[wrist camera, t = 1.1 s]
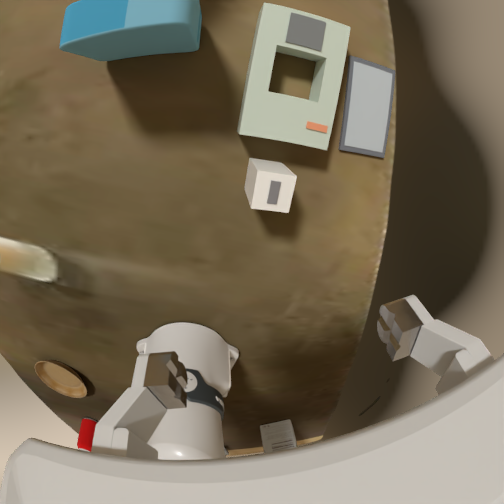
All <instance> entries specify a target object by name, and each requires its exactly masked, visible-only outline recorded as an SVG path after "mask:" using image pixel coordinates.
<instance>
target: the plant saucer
mask: <svg viewBox="0 0 504 504" xmlns="http://www.w3.org/2000/svg"><path fill="white" fill-rule="evenodd" d="M35 371H36V373H37V375H38V376H39V378H40V379H41V380H42V381H43V382H44V383H45V384H47V385H48V386H49V387H51V388H52V389H54V390H55V391H57V392H59V393H61V394H64V395H66V396H70V397H75V398H81V397H84V396H86V394H87V389H86V386H85V384H84V382H83V380H82V379H81V377H80V376H79V375H78V374H77V373H76V372H75V371H74V370H73V369H71V368H70V367H69V366H67V365H65V364H63V363H61V362H59V361H55V360H43V361H39V362H37V363H36V364H35Z"/></svg>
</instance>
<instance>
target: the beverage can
mask: <svg viewBox="0 0 504 504" xmlns="http://www.w3.org/2000/svg"><path fill="white" fill-rule="evenodd" d="M97 423H98V422H97V421H96V420H94V419H92V418H84V419H82V423H81V428H80V432H79V437H78V443H77V446H78V449H79V450H82V451H88V452H91V449H92V443H93V438H94V432H95V427H96V424H97Z"/></svg>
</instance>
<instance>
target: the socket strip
mask: <svg viewBox="0 0 504 504" xmlns="http://www.w3.org/2000/svg"><path fill="white" fill-rule="evenodd" d="M349 34H350V27H349V26H346V25H343V24H341V23H338V22H335V21H332V20H329V19H326V18H323V17H320V16H317V15H313V14H310V13H307V12H303V11H299V10H295V9H292V8H287V7H283V6H279V5H274V4H269V3H264V4H263V6H262V8H261V10H260V12H259V17H258V21H257V26H256V31H255V36H254V41H253V46H252V51H251V56H250V61H249V66H248V72H247V77H246V82H245V88H244V94H243V99H242V105H241V111H240V117H239V123H238V129H237V132H238V133H239V134H241V135H248V136H255V137H261V138H267V139H273V140H279V141H284V142H290V143H295V144H300V145H305V146H309V147H314V148H319V149H323V150H327V148H328V144H329V139H330V135H331V130H332V125H333V121H334V116H335V111H336V106H337V101H338V96H339V91H340V86H341V81H342V75H343V70H344V64H345V58H346V52H347V46H348V40H349ZM276 52H278V53H283V54H287V55H292V56H296V57H300V58H304V59H307V60H311V61H314V62H316V65H315V70H314V76H313V81H312V86H311V91H310V97H309V100H306V99H302V98H297V97H293V96H289V95H284V94H279V93H274V92H269V91H268V89H269V84H270V79H271V73H272V68H273V63H274V58H275V53H276Z"/></svg>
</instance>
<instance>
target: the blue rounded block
mask: <svg viewBox="0 0 504 504" xmlns="http://www.w3.org/2000/svg"><path fill="white" fill-rule="evenodd" d="M201 22H202V15H201V9H200V3H199V0H80V1H77V2H74V3H72V4H70V5H69V6H68V7H67V8H66V11H65V16H64V22H63V27H62V33H61V40H60V49H61V50H62V51H66V52H70V53H74V54H78V55H81V56H85V57H88V58H92V59H95V60H98V61H112V60H118V59H124V58H130V57H138V56H146V55H155V54H166V53H181V52H193V51H196V50H198V49H199V43H200V32H201Z"/></svg>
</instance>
